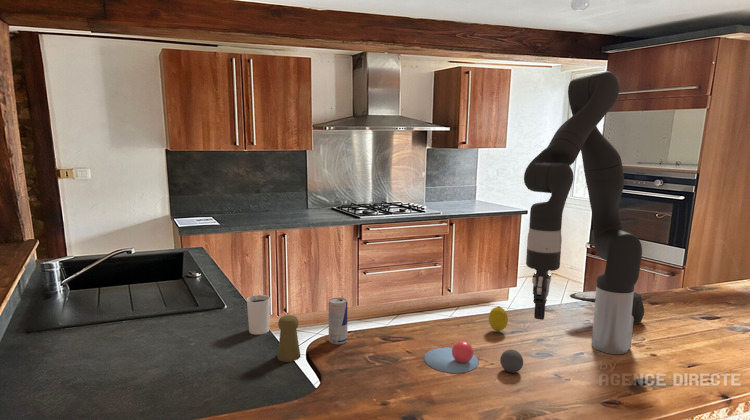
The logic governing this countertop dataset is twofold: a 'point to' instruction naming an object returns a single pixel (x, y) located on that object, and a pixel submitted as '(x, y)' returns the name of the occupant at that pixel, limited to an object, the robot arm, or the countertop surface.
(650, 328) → the countertop surface
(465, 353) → the red ball
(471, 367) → the blue mark
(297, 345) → the cork
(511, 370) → the gray ball
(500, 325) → the lemon
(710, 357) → the countertop surface
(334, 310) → the energy drink
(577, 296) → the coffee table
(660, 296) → the countertop surface
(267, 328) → the white cup
